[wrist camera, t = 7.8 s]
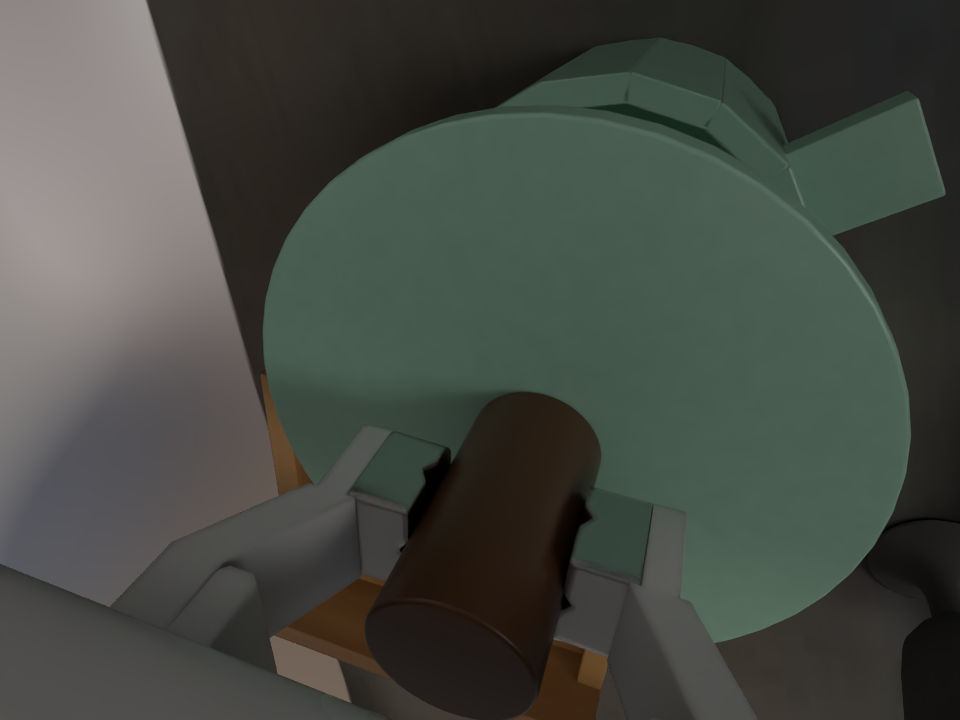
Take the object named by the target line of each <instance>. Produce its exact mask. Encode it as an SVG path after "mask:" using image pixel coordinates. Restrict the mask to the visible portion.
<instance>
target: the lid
mask: <svg viewBox="0 0 960 720" xmlns="http://www.w3.org/2000/svg"><path fill="white" fill-rule="evenodd" d="M263 350H264V363H265V369H266V374H267V379H268V384H269V390H270V393H271V397H272V400H273V403H274V406H275V409H276V412H277V415H278V418H279V421H280V423H281V426H282V428H283V430H284V432H285V434H286V437H287V439H288V441H289V443H290V446H291V448H292V449H293V451H294V453H295V455H296V456H297V458H298V460H299V462H300V463H301V465H302V467H303V468H304V470H305V472H306V474H307V475H308V476H309V478H310V479H311V481H312V482H313V483H314V485H317V484H318V483H319V482H320V480H321V479H322V478H323V476H324V475H325V474H326V473H327V471H328V470H329V469H330V468H331V466H332V465H333V464H334V462H335V461H336V460H337V459H338V457H339V456H340V455H341V454H342V452H343V451H344V450H345V448H346V447H347V446H348V445H349V443H350V442H351V441H352V440H353V438H354V437H355V436H356V434H357V433H358V432H359V431H360V429H361V428H363V427H364V426H366V425H368V424H372V425H375V426H378V427H382V428H385V429H388V430H391V431H394V432H395V431H397V432H400V433H403V434H407V435H410V436H413V437H416V438H420V439H423V440H426V441H429V442H433V443H436V444H439V445H443V446H446V447H448V448H449V449H450V450H451V465H450V467H449V468H448V470H447V472H446V474H445V476H444V477H443V479H442V481H441V483H440V485H439V486H438V488H437V490H436V492H435V494H434V495H433V497H432V499H431V501H430V503H429V504H428V506H427V508H426V510H425V512H424V513H423V515H422V517H421V519H420V521H419V522H418V524H417V526H416V528H415V530H414V531H413V533H412V535H411V537H410V539H409V540H408V542H407V544H406V546H405V548H404V549H403V551H402V553H401V555H400V557H399V558H398V560H397V562H396V564H395V566H394V568H393V569H392V571H391V573H390V575H389V577H388V578H387V580H386V582H385V584H384V586H383V587H382V589H381V591H380V593H379V595H378V596H377V598H376V600H375V602H374V604H373V605H372V607H371V609H370V611H369V613H368V614H367V617H366V620H365V626H364V636H365V640H366V644H367V646H368V649H369V651H370V653H371V654H372V656H373V658H374V659H375V661H376V662H377V663H378V665H379V666H380V667H381V668H382V669H383V670H384V671H385V673H386V674H387V675H388V676H390V677H391V678H392V679H393V680H394V681H395V682H396V683H397V684H399V685H400V686H401V687H402V688H404V689H405V690H407V691H408V692H410V693H411V694H413V695H414V696H416V697H418V698H419V699H421V700H423V701H425V702H426V703H428V704H430V705H432V706H435V707H437V708H439V709H441V710H444V711H447V712H449V713H452V714H455V715H459V716H462V717H466V718H471V719H476V720H509V719H513V718H516V717H519V716H521V715H523V714H524V713H526V712H527V711H528V710H529V709H530V708H531V707H532V706H533V705H534V703H535V702H536V700H537V698H538V695H539V691H540V687H541V684H542V680H543V676H544V673H545V669H546V665H547V661H548V658H549V654H550V650H551V646H552V643H553V639H554V640H558V639H555V638H554V635H555V632H556V628H557V624H558V620H559V617H560V613H561V609H562V606H563V602H564V598H565V594H564V593H563V590H564V585H565V581H566V576H567V572H568V567H569V563H570V559H571V555H572V551H573V548H574V544H575V540H576V536H577V533H578V529H579V526H581V521H582V517H583V512H584V508H585V504H586V500H587V497H588V493H589V490H590V487H595V488H598V489H602V490H606V491H609V492H613V493H617V494H621V495H624V496H628V497H632V498H635V499H639V500H643V501H647V502H650V503H652V505H653V503H655V504H658V505H662V506H666V507H670V508H674V509H677V510H681V511H685V512H686V515H687V527H686V539H685V550H684V561H683V572H682V583H681V594H680V598H682V599H685V600H687V601H690V602H691V603H692V605H693V607H694V609H695V610H696V612H697V614H698V616H699V617H700V619H701V621H702V623H703V624H704V626H705V628H706V630H707V631H708V633H709V635H710V637H711V638H712V640H713V642H714V643H716V642H721V641H726V640H730V639H734V638H737V637H740V636H743V635H746V634H749V633H752V632H756V631H759V630H762V629H765V628H767V627H769V626H771V625H773V624H775V623H778V622H780V621H782V620H784V619H786V618H789V617H791V616H793V615H795V614H797V613H798V612H800V611H801V610H803V609H805V608H806V607H808V606H809V605H811V604H813V603H814V602H816V601H817V600H819V599H820V598H822V597H824V596H825V595H826V594H827V593H828V592H830V591H831V590H832V589H833V588H834V587H835V586H837V585H838V584H839V583H840V582H841V581H842V580H844V579H845V578H846V577H847V576H848V575H849V574H851V573H852V571H853V570H854V569H855V568H856V567H857V565H858V564H859V563H860V562H861V561H862V559H863V558H864V557H865V556H866V555H867V553H868V552H869V551H870V550H871V549H872V548H873V546H874V545H875V543H876V541H877V540H878V538H879V536H880V534H881V533H882V531H883V529H884V527H885V526H886V524H887V522H888V520H889V519H890V517H891V515H892V513H893V511H894V508H895V505H896V502H897V499H898V496H899V494H900V491H901V488H902V485H903V482H904V479H905V476H906V469H907V462H908V455H909V448H910V441H911V425H910V407H909V393H908V389H907V385H906V381H905V377H904V373H903V369H902V365H901V361H900V357H899V353H898V349H897V346H896V344H895V341H894V339H893V336H892V333H891V331H890V329H889V327H888V324H887V322H886V320H885V318H884V316H883V313H882V311H881V309H880V307H879V305H878V302H877V300H876V298H875V296H874V293H873V291H872V289H871V288H870V286H869V285H868V283H867V282H866V280H865V279H864V277H863V276H862V275H861V273H860V272H859V270H858V269H857V267H856V266H855V264H854V263H853V261H852V260H851V258H850V257H849V255H848V254H847V252H846V251H845V249H844V248H843V247H842V246H841V245H840V244H839V242H838V241H837V240H836V239H835V238H834V237H833V236H832V235H831V234H830V233H829V232H828V231H827V230H826V229H825V227H824V226H823V225H822V224H821V223H820V222H819V221H818V220H817V219H816V218H815V217H814V216H813V215H812V214H811V212H810V211H809V210H808V209H807V208H805V207H804V206H803V205H802V204H800V203H799V202H798V201H797V200H795V199H794V198H793V197H792V196H790V195H789V194H788V193H786V192H785V191H784V190H783V189H781V188H780V187H779V186H778V185H776V184H775V183H774V182H773V181H771V180H770V179H769V178H768V177H766V176H765V175H764V174H762V173H760V172H759V171H757V170H755V169H753V168H752V167H750V166H748V165H747V164H745V163H743V162H741V161H740V160H738V159H736V158H734V157H733V156H731V155H729V154H728V153H726V152H724V151H722V150H721V149H719V148H717V147H716V146H713V145H711V144H708V143H706V142H704V141H701V140H699V139H696V138H694V137H691V136H689V135H686V134H684V133H681V132H679V131H677V130H674V129H672V128H669V127H667V126H664V125H662V124H658V123H654V122H650V121H646V120H642V119H638V118H634V117H630V116H626V115H622V114H618V113H614V112H610V111H605V110H596V109H586V108H577V107H568V106H559V105H536V106H505V107H498V108H492V109H486V110H481V111H475V112H470V113H464V114H459V115H454V116H451V117H448V118H445V119H442V120H439V121H436V122H434V123H431V124H428V125H425V126H422V127H419V128H416V129H413V130H411V131H409V132H407V133H405V134H403V135H402V136H400V137H398V138H396V139H394V140H392V141H390V142H388V143H386V144H384V145H383V146H381V147H379V148H377V149H375V150H373V151H372V152H370V153H368V154H366V155H365V156H363V157H361V158H360V159H359V160H357V161H356V162H355V163H353V164H352V165H351V166H350V167H348V168H347V169H346V170H344V171H343V172H342V173H340V174H339V175H338V176H336V177H335V178H334V179H333V180H331V181H330V182H329V183H328V184H327V185H326V187H325V188H324V189H323V190H322V191H321V192H320V193H319V194H318V195H317V196H316V197H315V198H314V199H313V201H312V202H311V203H310V204H309V205H308V206H307V207H306V208H305V210H304V211H303V213H302V214H301V216H300V217H299V219H298V220H297V222H296V224H295V225H294V227H293V228H292V230H291V231H290V233H289V234H288V236H287V238H286V240H285V242H284V244H283V247H282V249H281V251H280V254H279V256H278V258H277V261H276V263H275V265H274V268H273V271H272V275H271V279H270V283H269V287H268V291H267V295H266V299H265V308H264V319H263ZM558 641H561V640H558ZM562 642H564V641H562Z"/></svg>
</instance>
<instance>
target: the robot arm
mask: <svg viewBox="0 0 960 720" xmlns="http://www.w3.org/2000/svg"><path fill="white" fill-rule="evenodd" d="M450 465H451V450H450V449H449V448H448V447H446V446H443V445H439V444H436V443H433V442H429V441H426V440H423V439H420V438H416V437H413V436H410V435H407V434H403V433H400V432H397V431H395V432H394V431H391V430H388V429H385V428H382V427H378V426H375V425H372V424H368V425H366V426H364V427H363V428H361V429H360V431H359V432H358V433H357V434H356V436H355V437H354V438H353V440H352V441H351V442H350V443H349V445H348V446H347V447H346V448H345V450H344V451H343V452H342V454H341V455H340V456H339V457H338V459H337V460H336V461H335V462H334V464H333V465H332V466H331V468H330V469H329V470H328V471H327V473H326V474H325V475H324V476H323V478H322V479H321V480H320V482H319V483H318V484H317V485H314V484H311V483H308V484H305V485H303V486H301V487H298V488H296V489H294V490H291V491H289V492H287V493H284V494H282V495H280V496H278V497H275V498H273V499H271V500H268V501H266V502H264V503H261V504H259V505H257V506H254V507H252V508H250V509H247V510H245V511H243V512H240V513H238V514H236V515H233V516H231V517H229V518H227V519H224V520H222V521H219V522H217V523H215V524H212V525H210V526H208V527H205V528H203V529H201V530H198V531H196V532H194V533H191V534H189V535H187V536H184V537H182V538H180V539H177V540H175V541H173V542H171V544H169V546H167V548H166V549H165V550H164V551H163V552H162V553H161V554H160V555H159V556H158V557H157V558H156V559H155V560H154V561H153V562H152V563H151V564H150V565H149V566H148V568H146V570H145V571H144V572H143V573H142V574H141V575H140V576H139V577H138V578H137V579H136V580H135V581H134V582H133V583H132V584H131V585H130V586H129V587H128V588H127V589H126V591H125V592H124V593H123V594H122V595H121V596H120V597H119V598H118V599H117V600H116V601H115V602H114V603H113V604H112V605H111V606H110V607H107V606H105V605H102V604H100V603H97V602H95V601H92V600H90V599H87V598H85V597H82V596H79V595H77V594H75V593H72V592H69V591H67V590H64V589H62V588H59V587H57V586H54V585H52V584H49V583H47V582H44V581H42V580H39V579H37V578H34V577H31V576H29V575H27V574H24V573H22V572H19V571H17V570H14V569H12V568H9V567H7V566H4V565H2V564H0V720H392V719H390V718H387V717H385V716H382V715H379V714H377V713H374V712H372V711H369V710H367V709H364V708H362V707H359V706H357V705H354V704H352V703H349V702H347V701H344V700H342V699H339V698H337V697H334V696H331V695H329V694H326V693H324V692H321V691H319V690H316V689H314V688H311V687H309V686H306V685H304V684H301V683H299V682H296V681H294V680H291V679H289V678H286V677H283V676H281V675H278V674H277V669H276V665H275V660H274V656H273V652H272V647H271V643H270V639H269V638H270V637H272V636H274V635H275V634H276V633H278V632H279V631H281V630H282V629H284V628H285V627H287V626H288V625H290V624H291V623H293V622H294V621H296V620H297V619H299V618H300V617H302V616H303V615H305V614H306V613H308V612H309V611H311V610H312V609H314V608H315V607H317V606H318V605H320V604H321V603H323V602H324V601H326V600H327V599H329V598H330V597H332V596H333V595H335V594H336V593H338V592H339V591H341V590H342V589H344V588H345V587H346V586H348V585H349V584H351V583H352V582H354V581H355V580H357V579H358V578H360V577H361V574H364V575H367V576H370V577H373V578H377V579H380V580H383V581H386V580H387V578H388V577H389V575H390V573H391V571H392V569H393V568H394V566H395V564H396V562H397V560H398V558H399V557H400V555H401V553H402V551H403V549H404V548H405V546H406V544H407V542H408V540H409V539H410V537H411V535H412V533H413V531H414V530H415V528H416V526H417V524H418V522H419V521H420V519H421V517H422V515H423V513H424V512H425V510H426V508H427V506H428V504H429V503H430V501H431V499H432V497H433V495H434V494H435V492H436V490H437V488H438V486H439V485H440V483H441V481H442V479H443V477H444V476H445V474H446V472H447V470H448V468H449V467H450ZM686 527H687V515H686V512H685V511H681V510H677V509H674V508H670V507H666V506H662V505H658V504H655V503H653V505H652V503H650V502H647V501H643V500H639V499H635V498H632V497H628V496H624V495H621V494H617V493H613V492H609V491H606V490H602V489H598V488H595V487H590V490H589V493H588V497H587V500H586V504H585V508H584V512H583V517H582V521H581V526H579V529H578V533H577V536H576V540H575V544H574V548H573V551H572V555H571V559H570V563H569V567H568V572H567V576H566V581H565V585H564V590H563V593H564V594H565V598H564V602H563V606H562V609H561V613H560V617H559V620H558V624H557V628H556V632H555V635H554V638H555V639H558V640H561V641H564V642H566V643H569V644H572V645H574V646H577V647H580V648H582V649H585V650H588V651H591V652H593V653H596V654H599V655H601V656H604V657H607V663H608V666H609V669H610V672H611V675H612V678H613V681H614V683H615V686H616V689H617V692H618V695H619V698H620V701H621V704H622V707H623V710H624V713H625V716H626V719H627V720H758V719H757V717H756V715H755V713H754V712H753V710H752V708H751V706H750V705H749V703H748V701H747V700H746V698H745V696H744V694H743V693H742V691H741V689H740V687H739V686H738V684H737V682H736V680H735V679H734V677H733V675H732V673H731V672H730V670H729V668H728V666H727V665H726V663H725V661H724V659H723V658H722V656H721V654H720V652H719V651H718V649H717V647H716V645H715V644H714V642H713V640H712V638H711V637H710V635H709V633H708V631H707V630H706V628H705V626H704V624H703V623H702V621H701V619H700V617H699V616H698V614H697V612H696V610H695V609H694V607H693V605H692V603H691V602H690V601H687V600H685V599H682V598H680V594H681V583H682V572H683V561H684V550H685V539H686Z"/></svg>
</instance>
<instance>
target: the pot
mask: <svg viewBox="0 0 960 720" xmlns="http://www.w3.org/2000/svg"><path fill="white" fill-rule="evenodd" d="M536 105H559V106H568V107H577V108H586V109H596V110H605V111H610V112H614V113H618V114H622V115H626V116H630V117H634V118H638V119H642V120H646V121H650V122H654V123H658V124H662V125H664V126H667V127H669V128H672V129H674V130H677V131H679V132H681V133H684V134H686V135H689V136H691V137H694V138H696V139H699V140H701V141H704V142H706V143H708V144H711V145H713V146H716V147H717V148H719V149H721V150H722V151H724V152H726V153H728V154H729V155H731V156H733V157H734V158H736V159H738V160H740V161H741V162H743V163H745V164H747V165H748V166H750V167H752V168H753V169H755V170H757V171H759V172H760V173H762V174H764V175H765V176H766V177H768V178H769V179H770V180H771V181H773V182H774V183H775V184H776V185H778V186H779V187H780V188H781V189H783V190H784V191H785V192H786V193H788V194H789V195H790V196H792V197H793V198H794V199H795V200H797V201H798V202H799V203H800V204H802V205H803V206H804V207H805V208H807V209H808V210H809V211H810V212H811V214H812V215H813V216H814V217H815V218H816V219H817V220H818V221H819V222H820V223H821V224H822V225H823V226H824V227H825V229H826V230H827V231H828V232H829V233H830V234H831V235H832V236H833V235H836V234H839V233H841V232H844V231H847V230H850V229H853V228H855V227H858V226H861V225H864V224H867V223H869V222H872V221H875V220H878V219H881V218H883V217H886V216H889V215H892V214H895V213H897V212H900V211H903V210H906V209H909V208H911V207H914V206H917V205H920V204H923V203H925V202H928V201H931V200H934V199H937V198H939V197H942V196H944V195H945V194H946V192H945V188H944V185H943V181H942V178H941V174H940V171H939V167H938V164H937V160H936V157H935V153H934V150H933V146H932V143H931V139H930V136H929V132H928V129H927V125H926V122H925V118H924V115H923V111H922V108H921V104H920V101H919V99H918V98H917V97H916V96H914V95H913V94H912V93H911V92H909V91H906V92H903V93H901V94H899V95H896V96H894V97H892V98H890V99H887V100H885V101H883V102H881V103H878V104H876V105H874V106H871V107H869V108H867V109H865V110H862V111H860V112H858V113H856V114H853V115H851V116H849V117H846V118H844V119H842V120H840V121H837V122H835V123H833V124H830V125H828V126H826V127H824V128H821V129H819V130H817V131H815V132H812V133H810V134H808V135H805V136H803V137H801V138H799V139H796V140H794V141H792V142H790V143H788V141H787V138H786V136H785V133H784V130H783V127H782V125H781V122H780V119H779V116H778V114H777V111H776V108H775V105H774V104H773V103H772V101H771V100H770V99H769V98H768V97H767V96H766V95H765V94H764V93H763V92H762V91H761V90H760V89H759V88H758V87H757V86H756V85H755V84H754V82H753V81H752V80H751V79H750V78H749V77H748V76H746V75H745V74H744V73H743V72H742V71H740V70H739V69H738V68H737V67H735V66H734V65H733V64H732V63H731V62H730V61H729V60H728V59H725V57H723V56H720V55H717V54H714V53H712V52H709V51H706V50H704V49H701V48H699V47H696V46H694V45H689V44H685V43H681V42H677V41H672V40H669V39H665V38H652V39H641V40H628V41H623V42H618V43H613V44H606V45H599V46H596V47H593V48H591V49H590V50H588V51H586V52H585V53H583V54H581V55H580V56H578V57H576V58H575V59H573V60H571V61H569V62H568V63H566V64H565V65H563V66H561V67H560V68H558V69H556V70H555V71H553V72H551V73H550V74H548V75H546V76H545V77H543V78H541V79H540V80H538V81H537V82H535V83H533V84H532V85H530V86H529V87H527V88H525V89H524V90H522V91H521V92H519V93H517V94H516V95H514V96H513V97H511V98H509V99H508V100H506V101H505V102H503V103H501V104H500V105H498V106H497V107H495V108H498V107H505V106H536Z"/></svg>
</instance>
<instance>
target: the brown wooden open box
mask: <svg viewBox="0 0 960 720" xmlns="http://www.w3.org/2000/svg"><path fill="white" fill-rule="evenodd" d="M260 377H261V383H262V390H263V396H264V403H265V409H266V415H267V422H268V428H269V435H270V441H271V447H272V454H273V460H274V467H275V473H276V479H277V485H278V492H279V496H280V495H282V494H284V493H287V492H289V491H291V490H294V489H296V488H298V487H301V486H303V485H305V484H308V483H311V484H314V483H313V482H312V481H311V479H310V478H309V476H308V475H307V474H306V472H305V470H304V468H303V467H302V465H301V463H300V462H299V460H298V458H297V456H296V455H295V453H294V451H293V449H292V448H291V446H290V443H289V441H288V439H287V437H286V434H285V432H284V430H283V428H282V426H281V423H280V421H279V418H278V415H277V412H276V409H275V406H274V403H273V400H272V397H271V393H270V390H269V384H268V379H267V374H266V369H265V370H264V371H263V372H262V373H261V374H260ZM385 582H386V581H383V580H380V579H377V578H373V577H370V576H367V575H364V574H361V577H360V578H358V579H357V580H355V581H354V582H352V583H351V584H349V585H348V586H346V587H345V588H344V589H342V590H341V591H339V592H338V593H336V594H335V595H333V596H332V597H330V598H329V599H327V600H326V601H324V602H323V603H321V604H320V605H318V606H317V607H315V608H314V609H312V610H311V611H309V612H308V613H306V614H305V615H303V616H302V617H300V618H299V619H297V620H296V621H294V622H293V623H291V624H290V625H288V626H287V627H285V628H284V629H282V630H281V631H279V632H278V633H276V634H275V636H277V637H280V638H283V639H285V640H288V641H291V642H293V643H296V644H299V645H301V646H304V647H307V648H309V649H312V650H315V651H317V652H320V653H322V654H325V655H328V656H330V657H333V658H336V659H338V660H341V661H344V662H346V663H349V664H352V665H354V666H357V667H359V668H362V669H365V670H367V671H370V672H373V673H375V674H378V675H381V676H383V677H386V678H389V679H391V680H393V679H392V678H391V677H390V676H388V675H387V674H386V673H385V671H384V670H383V669H382V668H381V667H380V666H379V665H378V663H377V662H376V661H375V659H374V658H373V656H372V654H371V653H370V651H369V649H368V646H367V644H366V640H365V636H364V626H365V620H366V617H367V614H368V613H369V611H370V609H371V607H372V605H373V604H374V602H375V600H376V598H377V596H378V595H379V593H380V591H381V589H382V587H383V586H384V584H385ZM607 668H608V663H607V657H604V656H601V655H599V654H596V653H593V652H591V651H588V650H585V649H582V648H580V647H577V646H574V645H572V644H569V643H566V642H562V641H558V640H554V639H553V643H552V646H551V650H550V654H549V658H548V661H547V665H546V669H545V673H544V676H543V680H542V684H541V687H540V691H539V695H538V698H537V700H536V702H535V703H534V705H533V706H532V707H531V708H530V709H529V710H528V711H527V712H526V713H524V714H523V715H521V716H519V717H516V718H513V719H509V720H595V718H596V713H597V707H598V702H599V696H600V690H601V687H602V684H603V680H604V677H605V674H606V671H607Z"/></svg>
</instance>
